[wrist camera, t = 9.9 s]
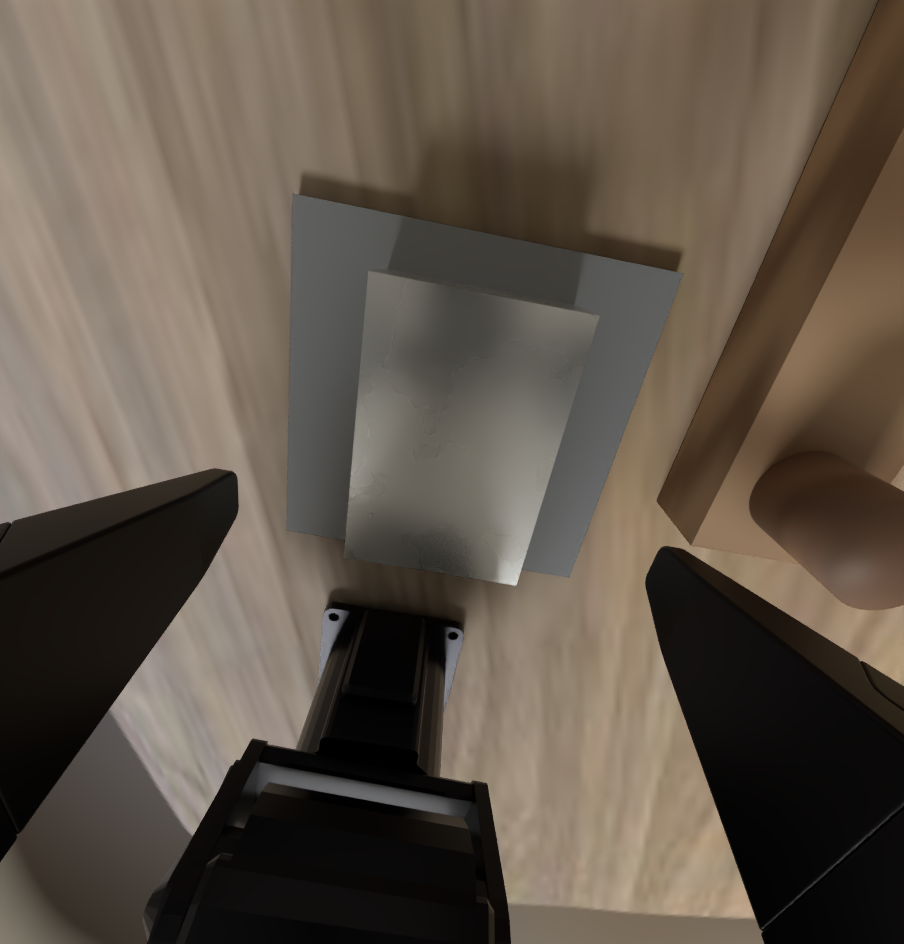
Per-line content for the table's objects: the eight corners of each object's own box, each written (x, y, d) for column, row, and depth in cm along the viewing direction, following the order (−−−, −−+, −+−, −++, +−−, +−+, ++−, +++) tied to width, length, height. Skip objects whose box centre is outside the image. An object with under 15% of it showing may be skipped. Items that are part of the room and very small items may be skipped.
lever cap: (508, 536, 18) (516, 585, 15) (362, 511, 18) (343, 557, 15) (574, 305, 14) (599, 316, 11) (387, 268, 14) (368, 270, 11)
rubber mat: (566, 570, 19) (569, 577, 19) (290, 523, 19) (286, 530, 18) (676, 272, 14) (683, 273, 14) (298, 195, 13) (292, 193, 13)
